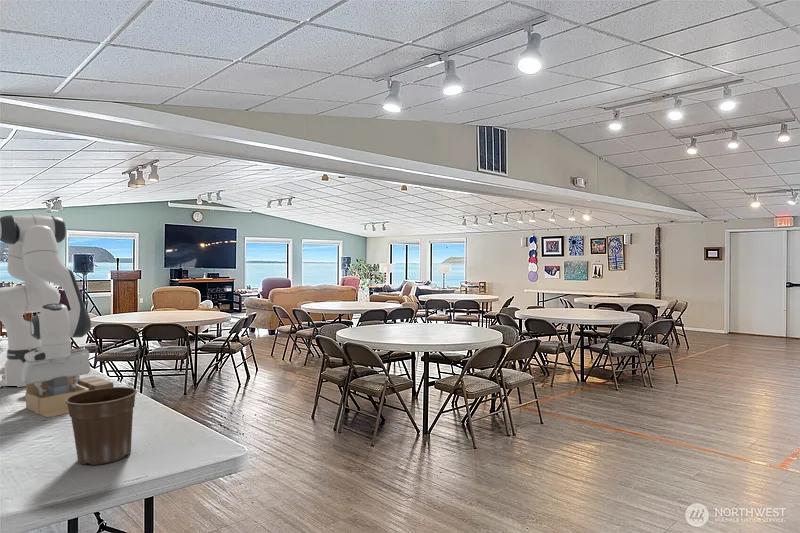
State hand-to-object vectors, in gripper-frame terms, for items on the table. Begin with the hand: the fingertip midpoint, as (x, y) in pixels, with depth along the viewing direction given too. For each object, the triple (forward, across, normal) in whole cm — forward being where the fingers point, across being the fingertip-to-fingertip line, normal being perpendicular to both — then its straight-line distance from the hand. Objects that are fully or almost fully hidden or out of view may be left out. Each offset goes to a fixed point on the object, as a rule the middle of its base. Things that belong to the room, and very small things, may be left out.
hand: (58, 391), depth 190 cm
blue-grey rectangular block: (+5, 0, 0) cm, 5 cm away
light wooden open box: (+5, 0, +3) cm, 5 cm away
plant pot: (+6, +10, +62) cm, 63 cm away
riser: (+5, -12, 0) cm, 13 cm away
